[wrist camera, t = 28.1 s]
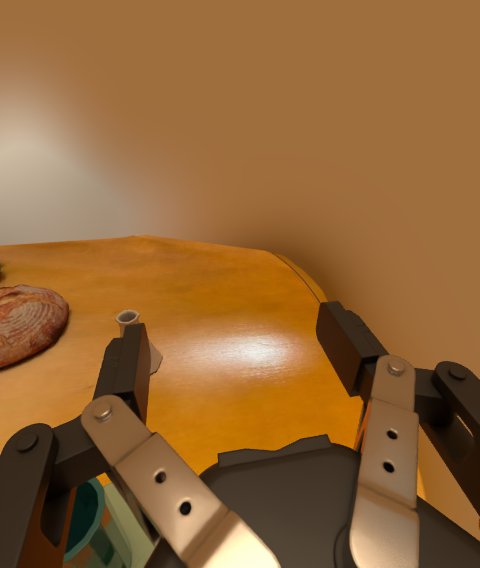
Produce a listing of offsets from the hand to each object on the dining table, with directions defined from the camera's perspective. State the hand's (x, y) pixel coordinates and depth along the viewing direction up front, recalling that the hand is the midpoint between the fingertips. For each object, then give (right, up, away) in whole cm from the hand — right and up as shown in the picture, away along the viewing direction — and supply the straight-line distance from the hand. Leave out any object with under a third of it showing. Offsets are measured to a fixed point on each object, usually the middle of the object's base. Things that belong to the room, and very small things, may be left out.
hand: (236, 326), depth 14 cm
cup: (-13, -24, +14) cm, 31 cm away
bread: (-40, -8, +43) cm, 59 cm away
